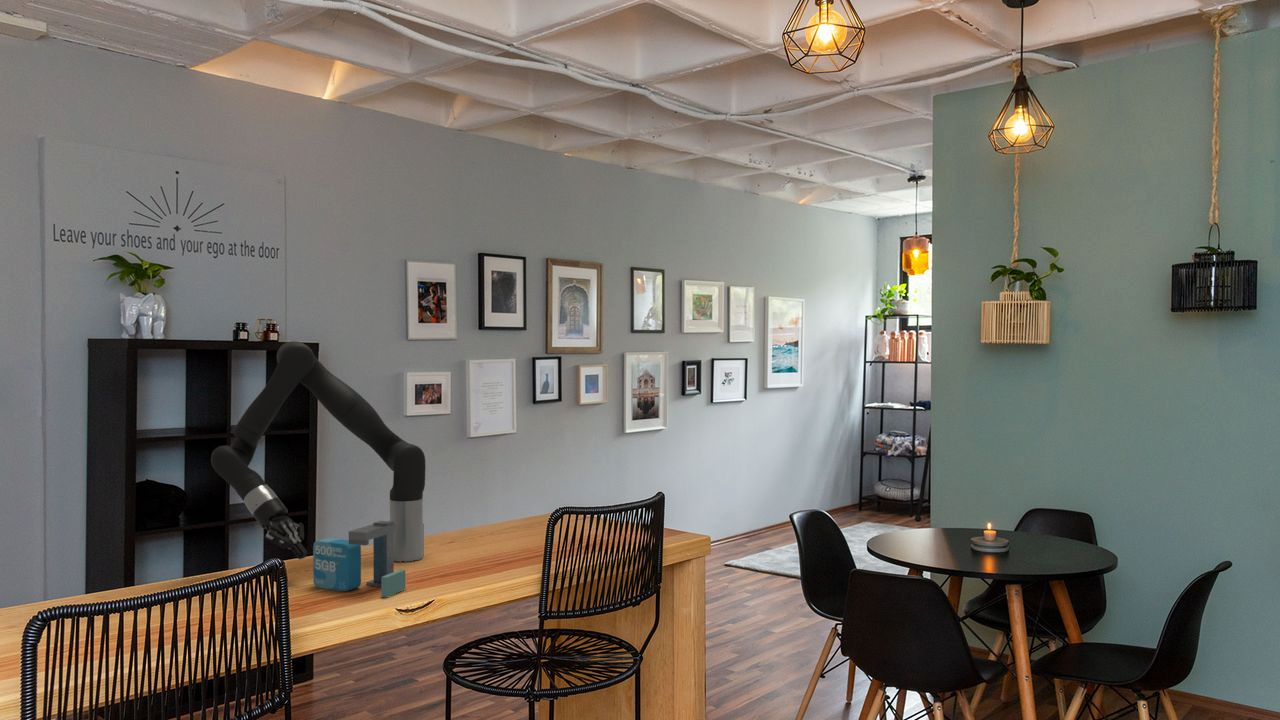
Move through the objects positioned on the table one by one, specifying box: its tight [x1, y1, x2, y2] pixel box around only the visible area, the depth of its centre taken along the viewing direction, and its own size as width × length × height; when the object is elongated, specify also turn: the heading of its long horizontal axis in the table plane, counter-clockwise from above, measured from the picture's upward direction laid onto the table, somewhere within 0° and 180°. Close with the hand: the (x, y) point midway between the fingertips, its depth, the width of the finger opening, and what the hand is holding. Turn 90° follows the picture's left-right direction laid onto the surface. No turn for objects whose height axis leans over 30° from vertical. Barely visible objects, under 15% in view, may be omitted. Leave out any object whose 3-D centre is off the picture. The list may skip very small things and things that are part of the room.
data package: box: [312, 537, 362, 592], centre depth 237 cm, size 12×4×12 cm, turn 64°
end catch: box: [380, 569, 406, 598], centre depth 232 cm, size 8×2×5 cm, turn 161°
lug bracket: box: [348, 520, 395, 587], centre depth 237 cm, size 14×7×16 cm, turn 161°
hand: (304, 556), depth 241 cm, fingers closed
